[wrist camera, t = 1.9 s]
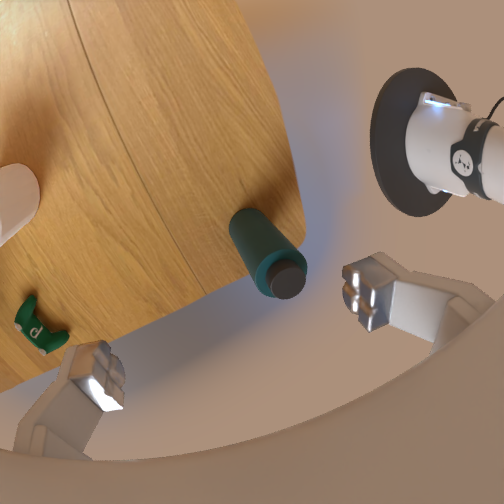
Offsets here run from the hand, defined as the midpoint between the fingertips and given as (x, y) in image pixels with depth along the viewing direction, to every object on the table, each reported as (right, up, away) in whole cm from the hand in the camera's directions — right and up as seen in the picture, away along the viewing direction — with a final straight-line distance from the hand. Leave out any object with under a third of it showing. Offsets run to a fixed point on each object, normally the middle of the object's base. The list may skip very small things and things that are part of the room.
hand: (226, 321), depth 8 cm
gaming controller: (-32, -8, +24) cm, 40 cm away
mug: (-30, +11, +15) cm, 35 cm away
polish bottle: (0, +5, +26) cm, 27 cm away
